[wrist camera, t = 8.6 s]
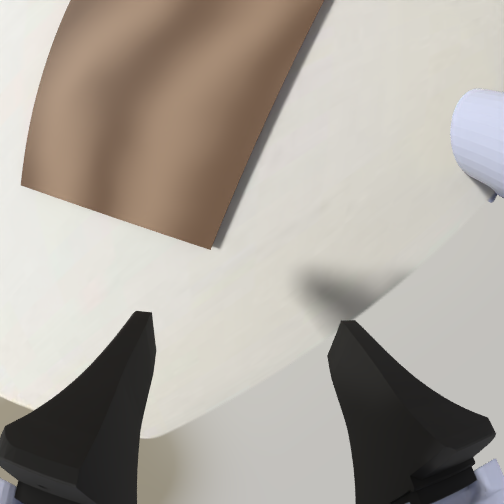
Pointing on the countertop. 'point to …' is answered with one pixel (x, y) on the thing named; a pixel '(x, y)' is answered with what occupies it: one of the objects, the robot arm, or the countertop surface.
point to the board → (159, 106)
